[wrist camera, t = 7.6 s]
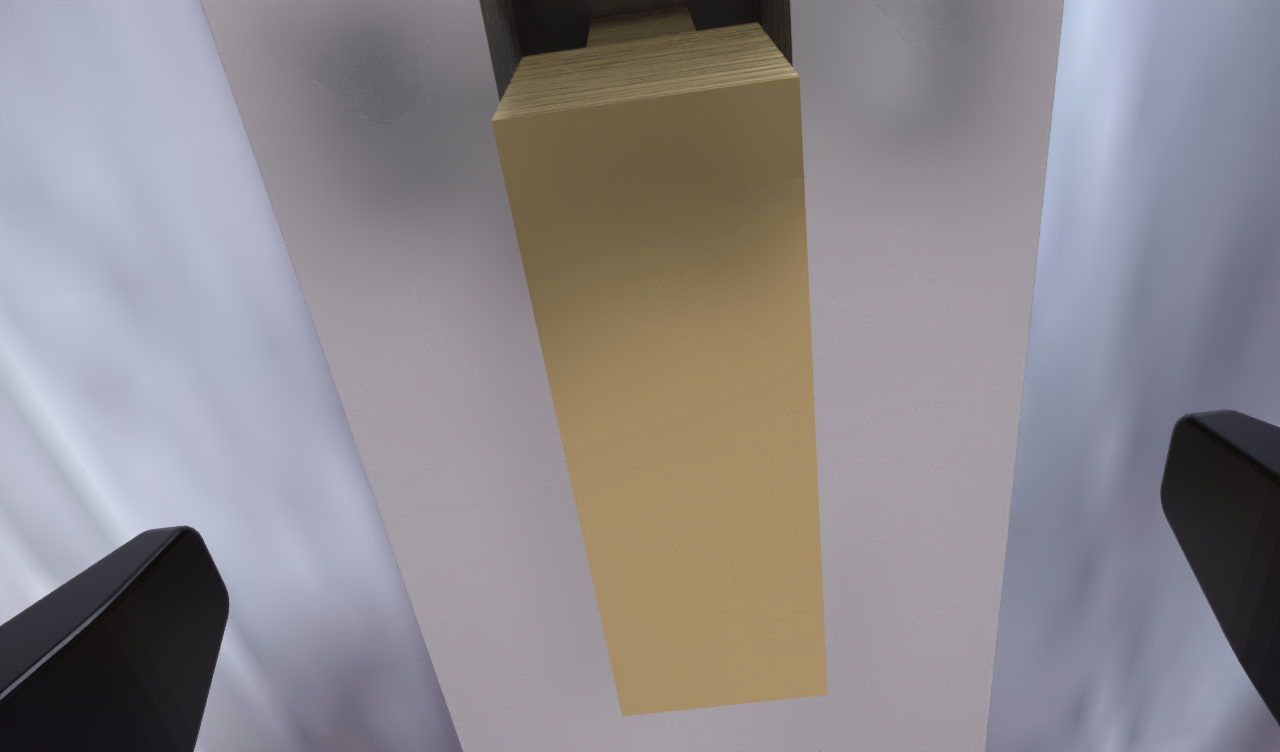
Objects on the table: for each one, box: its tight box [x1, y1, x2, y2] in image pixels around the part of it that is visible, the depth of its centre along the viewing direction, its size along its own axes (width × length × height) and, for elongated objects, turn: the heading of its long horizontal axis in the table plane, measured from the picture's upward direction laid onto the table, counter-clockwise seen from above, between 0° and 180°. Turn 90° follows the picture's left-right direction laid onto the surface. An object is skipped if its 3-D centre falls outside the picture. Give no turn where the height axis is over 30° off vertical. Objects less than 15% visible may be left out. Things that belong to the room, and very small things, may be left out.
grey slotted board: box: [200, 0, 1064, 752], centre depth 14 cm, size 10×24×3 cm, turn 7°
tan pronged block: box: [491, 5, 828, 716], centre depth 12 cm, size 2×7×7 cm, turn 8°
